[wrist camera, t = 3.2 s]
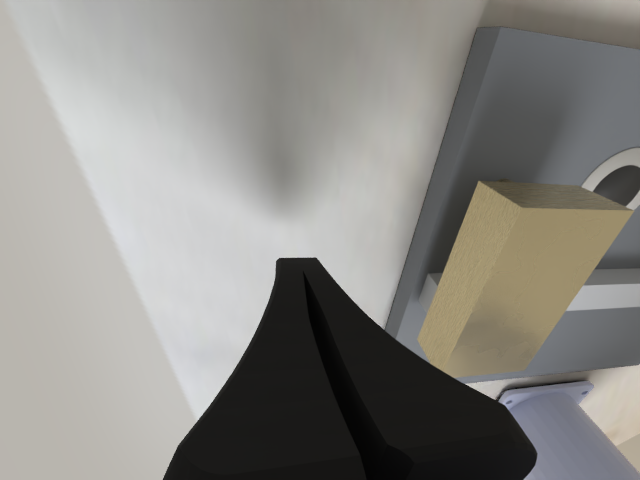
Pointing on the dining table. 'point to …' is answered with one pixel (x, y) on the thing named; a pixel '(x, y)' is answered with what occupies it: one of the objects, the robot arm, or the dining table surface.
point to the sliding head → (515, 273)
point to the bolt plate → (539, 182)
